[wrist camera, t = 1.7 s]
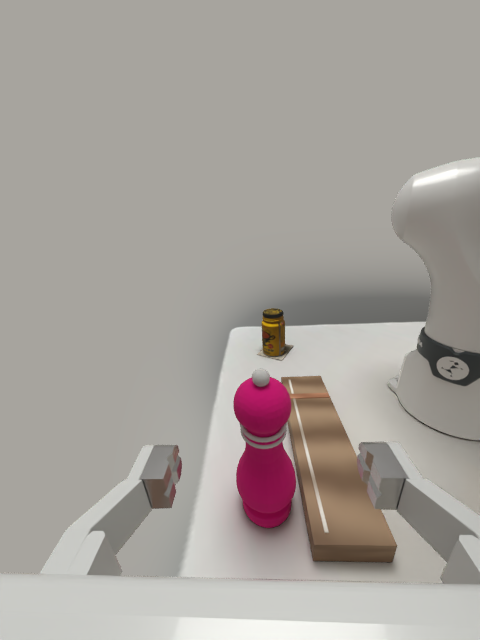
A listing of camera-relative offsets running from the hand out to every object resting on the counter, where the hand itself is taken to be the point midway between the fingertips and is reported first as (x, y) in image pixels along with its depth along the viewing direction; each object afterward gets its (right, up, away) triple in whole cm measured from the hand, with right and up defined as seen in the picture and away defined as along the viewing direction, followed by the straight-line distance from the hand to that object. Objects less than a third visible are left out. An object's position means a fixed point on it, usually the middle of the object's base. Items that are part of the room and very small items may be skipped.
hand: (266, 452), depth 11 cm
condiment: (+9, -3, +56) cm, 56 cm away
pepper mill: (+2, -18, +20) cm, 27 cm away
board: (+11, -14, +27) cm, 32 cm away
